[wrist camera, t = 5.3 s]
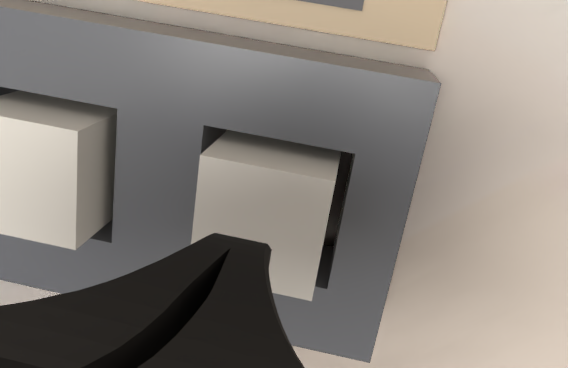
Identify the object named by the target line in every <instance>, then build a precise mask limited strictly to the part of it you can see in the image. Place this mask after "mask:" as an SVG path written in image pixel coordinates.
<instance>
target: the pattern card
mask: <svg viewBox="0 0 568 368" xmlns="http://www.w3.org/2000/svg"><path fill="white" fill-rule="evenodd" d="M136 1H142V2H147V3H153V4H159V5H165V6H171V7H177V8H183V9H189V10H195V11H201V12H207V13H212V14H218V15H224V16H230V17H236V18H242V19H248V20H254V21H260V22H266V23H272V24H277V25H283V26H289V27H295V28H301V29H307V30H313V31H319V32H325V33H331V34H336V35H342V36H348V37H354V38H360V39H366V40H372V41H378V42H384V43H390V44H396V45H401V46H407V47H413V48H419V49H425V50H431V51H435V48H436V44H437V40H438V36H439V32H440V28H441V23H442V19H443V15H444V11H445V7H446V3H447V0H136Z"/></svg>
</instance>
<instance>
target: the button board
mask: <svg viewBox="0 0 568 368" xmlns="http://www.w3.org/2000/svg"><path fill="white" fill-rule="evenodd" d="M440 86H441V83H440V82H439V80H438V79H437V78H436V77H435V76H434V75H433V74H432V73H431V72H430V70H428V69H422V68H416V67H410V66H405V65H399V64H393V63H387V62H382V61H376V60H370V59H364V58H358V57H353V56H347V55H341V54H335V53H329V52H324V51H318V50H312V49H306V48H300V47H295V46H289V45H283V44H277V43H271V42H266V41H260V40H254V39H248V38H243V37H237V36H231V35H225V34H219V33H214V32H208V31H202V30H196V29H190V28H185V27H179V26H173V25H167V24H161V23H156V22H150V21H144V20H138V19H132V18H127V17H121V16H115V15H109V14H103V13H98V12H92V11H86V10H80V9H75V8H69V7H63V6H57V5H51V4H46V3H40V2H34V1H28V0H0V95H4V94H8V93H12V92H16V91H20V90H21V91H26V92H31V93H37V94H42V95H47V96H53V97H58V98H63V99H68V100H74V101H79V102H84V103H89V104H95V105H100V106H105V107H111V108H116V109H117V131H116V154H115V177H114V200H113V219H112V220H111V221H110V222H108V223H107V224H106V225H105V226H104V227H102V228H101V229H100V230H99V231H98V232H97V233H95V234H94V235H93V236H92V237H91V238H89V239H88V240H87V241H86V242H85V243H84V244H82V245H81V246H80V247H79V248H78V249H76V250H73V249H68V248H63V247H59V246H54V245H50V244H45V243H40V242H36V241H31V240H27V239H22V238H17V237H13V236H8V235H3V234H0V280H4V281H8V282H13V283H17V284H21V285H26V286H30V287H35V288H39V289H44V290H48V291H53V292H57V293H61V294H64V293H69V292H73V291H77V290H81V289H84V288H88V287H91V286H94V285H97V284H101V283H104V282H107V281H110V280H113V279H116V278H118V277H121V276H124V275H126V274H129V273H131V272H133V271H136V270H138V269H140V268H143V267H145V266H147V265H150V264H152V263H154V262H157V261H159V260H161V259H163V258H165V257H167V256H169V255H171V254H173V253H175V252H177V251H179V250H181V249H183V248H185V247H187V246H189V245H191V239H192V229H193V219H194V209H195V199H196V190H197V180H198V170H199V160H200V155H201V154H202V153H203V152H204V151H205V150H206V149H207V148H208V147H209V146H211V145H212V144H213V143H214V142H215V141H216V140H217V139H218V138H219V137H221V136H222V135H223V134H224V133H225V132H226V130H232V131H237V132H243V133H248V134H253V135H258V136H264V137H269V138H274V139H280V140H285V141H290V142H295V143H301V144H306V145H311V146H317V147H322V148H327V149H332V150H338V151H343V152H348V153H353V154H352V159H351V164H350V169H349V173H348V178H347V183H346V188H345V193H344V198H343V202H342V207H341V212H340V217H339V222H338V227H337V231H336V236H335V241H334V246H333V247H331V246H326V245H323V247H322V252H321V257H320V262H319V267H318V272H317V277H316V282H315V288H314V293H313V298H312V301H308V300H304V299H299V298H294V297H290V296H285V295H281V294H276V293H272V294H273V298H274V302H275V305H276V309H277V312H278V315H279V318H280V321H281V323H282V326H283V328H284V331H285V333H286V335H287V337H288V340H289V342H290V344H291V345H293V346H297V347H301V348H306V349H310V350H315V351H319V352H324V353H328V354H333V355H337V356H341V357H346V358H350V359H355V360H359V361H364V362H368V363H370V360H371V356H372V352H373V348H374V344H375V341H376V337H377V333H378V329H379V325H380V321H381V317H382V313H383V309H384V305H385V301H386V297H387V294H388V290H389V286H390V282H391V278H392V274H393V270H394V266H395V262H396V258H397V254H398V250H399V247H400V243H401V239H402V235H403V231H404V227H405V223H406V219H407V215H408V211H409V207H410V203H411V200H412V196H413V192H414V188H415V184H416V180H417V176H418V172H419V168H420V164H421V160H422V156H423V153H424V149H425V145H426V141H427V137H428V133H429V129H430V125H431V121H432V117H433V113H434V109H435V106H436V102H437V98H438V94H439V90H440Z"/></svg>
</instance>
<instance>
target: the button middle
mask: <svg viewBox="0 0 568 368" xmlns="http://www.w3.org/2000/svg"><path fill="white" fill-rule="evenodd" d="M116 131H117V109H116V108H111V107H105V106H100V105H95V104H89V103H84V102H79V101H74V100H68V99H63V98H58V97H53V96H47V95H42V94H37V93H31V92H26V91H21V90H20V91H16V92H12V93H8V94H4V95H0V234H3V235H8V236H13V237H17V238H22V239H27V240H31V241H36V242H40V243H45V244H50V245H54V246H59V247H63V248H68V249H73V250H76V249H78V248H79V247H80V246H81V245H82V244H84V243H85V242H86V241H87V240H88V239H89V238H91V237H92V236H93V235H94V234H95V233H97V232H98V231H99V230H100V229H101V228H102V227H104V226H105V225H106V224H107V223H108V222H110V221H111V220H112V219H113V200H114V177H115V154H116Z"/></svg>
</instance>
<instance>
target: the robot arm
mask: <svg viewBox="0 0 568 368" xmlns="http://www.w3.org/2000/svg"><path fill="white" fill-rule="evenodd" d="M271 251H272V249H271V248H270V246H269V245H268V244H266V243H262V242H257V241H252V240H247V239H243V238H238V237H233V236H228V235H223V234H219V233H213V234H210V235H208V236H206V237H204V238H202V239H200V240H198V241H197V242H195V243H193V244H191V245H189V246H187V247H185V248H183V249H181V250H179V251H177V252H175V253H173V254H171V255H169V256H167V257H165V258H163V259H161V260H159V261H157V262H154V263H152V264H150V265H147V266H145V267H143V268H140V269H138V270H136V271H133V272H131V273H129V274H126V275H124V276H121V277H118V278H116V279H113V280H110V281H107V282H104V283H101V284H97V285H94V286H91V287H88V288H84V289H81V290H77V291H73V292H69V293H64V294H60V295H55V296H51V297H47V298H42V299H38V300H33V301H28V302H22V303H16V304H10V305H3V306H0V368H304V366H303V365H302V363H301V362H300V360H299V358H298V357H297V355H296V353H295V351H294V349H293V348H292V346H291V344H290V342H289V340H288V337H287V335H286V333H285V331H284V328H283V326H282V323H281V321H280V318H279V315H278V312H277V309H276V305H275V302H274V298H273V294H272V289H271V283H270V278H269V263H270V257H271Z"/></svg>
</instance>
